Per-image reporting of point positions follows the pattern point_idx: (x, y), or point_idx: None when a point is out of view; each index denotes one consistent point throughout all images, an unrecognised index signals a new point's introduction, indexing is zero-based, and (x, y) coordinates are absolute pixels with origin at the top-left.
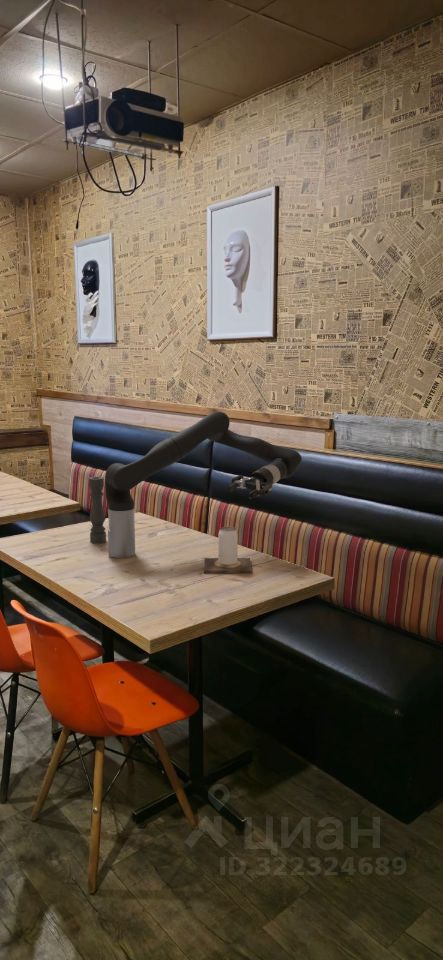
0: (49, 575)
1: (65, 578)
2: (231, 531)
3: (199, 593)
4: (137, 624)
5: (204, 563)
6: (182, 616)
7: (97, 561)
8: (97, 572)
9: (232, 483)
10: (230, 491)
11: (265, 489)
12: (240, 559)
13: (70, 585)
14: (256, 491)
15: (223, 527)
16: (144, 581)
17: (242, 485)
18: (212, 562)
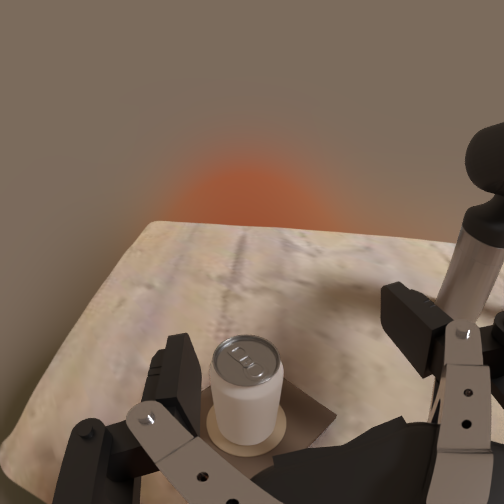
0: (389, 238)
1: (369, 241)
2: (216, 351)
3: (181, 295)
4: (183, 225)
5: (296, 387)
6: (153, 249)
7: (427, 284)
8: (375, 265)
9: (449, 316)
10: (382, 323)
11: (72, 452)
12: (249, 477)
13: (340, 235)
14: (155, 400)
15: (277, 363)
16: (295, 281)
17: (431, 418)
18: (288, 406)
